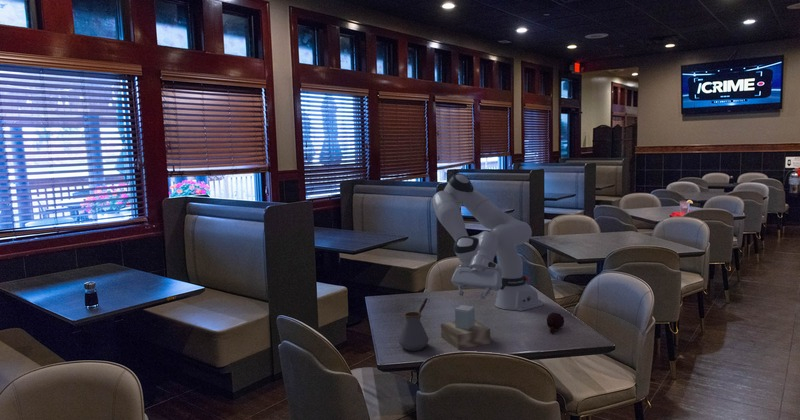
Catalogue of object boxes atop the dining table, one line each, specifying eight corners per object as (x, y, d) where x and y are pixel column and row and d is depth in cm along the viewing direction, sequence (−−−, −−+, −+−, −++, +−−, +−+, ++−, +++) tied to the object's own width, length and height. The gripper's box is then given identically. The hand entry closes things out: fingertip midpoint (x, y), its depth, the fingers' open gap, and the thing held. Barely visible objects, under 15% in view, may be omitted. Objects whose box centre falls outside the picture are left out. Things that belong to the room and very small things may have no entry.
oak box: (471, 332, 221) (471, 318, 220) (490, 344, 208) (490, 329, 207) (441, 338, 216) (440, 323, 215) (458, 350, 203) (457, 335, 202)
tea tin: (461, 323, 215) (461, 304, 214) (474, 325, 212) (474, 306, 211) (455, 327, 210) (455, 308, 209) (468, 329, 207) (468, 310, 206)
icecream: (549, 307, 229) (538, 320, 217) (566, 305, 225) (556, 318, 213) (553, 322, 230) (543, 337, 217) (570, 321, 226) (561, 335, 213)
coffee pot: (422, 354, 199) (421, 315, 197) (393, 350, 203) (392, 311, 202) (441, 335, 218) (440, 298, 216) (415, 331, 223) (414, 296, 221)
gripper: (454, 260, 223) (444, 289, 216) (502, 265, 213) (493, 295, 206) (459, 268, 228) (449, 297, 221) (506, 273, 217) (497, 303, 210)
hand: (471, 296), depth 213 cm, fingers open, 8 cm apart
